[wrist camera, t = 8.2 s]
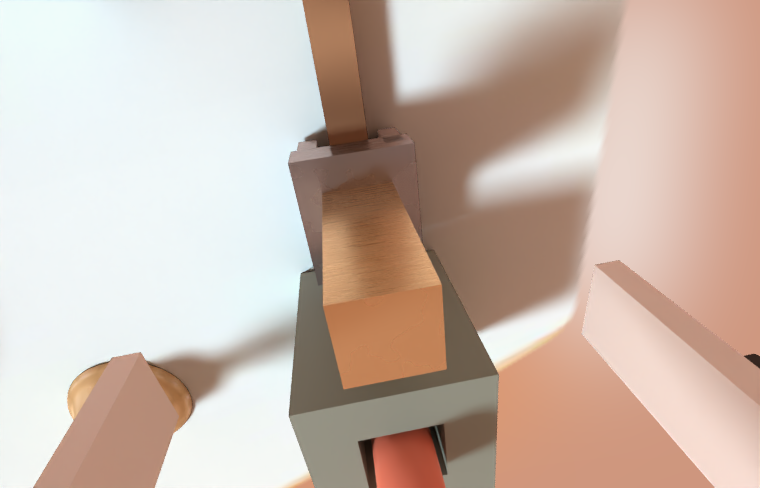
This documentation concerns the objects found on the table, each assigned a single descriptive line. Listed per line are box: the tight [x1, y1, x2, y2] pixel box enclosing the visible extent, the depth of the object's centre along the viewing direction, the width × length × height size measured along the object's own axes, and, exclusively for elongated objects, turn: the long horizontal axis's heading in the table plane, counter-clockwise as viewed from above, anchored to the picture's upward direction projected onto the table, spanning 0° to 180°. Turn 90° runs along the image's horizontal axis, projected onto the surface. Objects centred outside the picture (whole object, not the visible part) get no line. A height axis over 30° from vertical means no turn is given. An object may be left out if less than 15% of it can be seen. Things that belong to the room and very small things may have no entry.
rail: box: [302, 0, 368, 146], centre depth 18 cm, size 23×5×5 cm, turn 7°
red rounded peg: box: [371, 427, 446, 488], centre depth 19 cm, size 3×3×8 cm
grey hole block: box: [289, 250, 499, 488], centre depth 23 cm, size 9×9×11 cm
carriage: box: [288, 127, 447, 389], centre depth 18 cm, size 7×6×13 cm
